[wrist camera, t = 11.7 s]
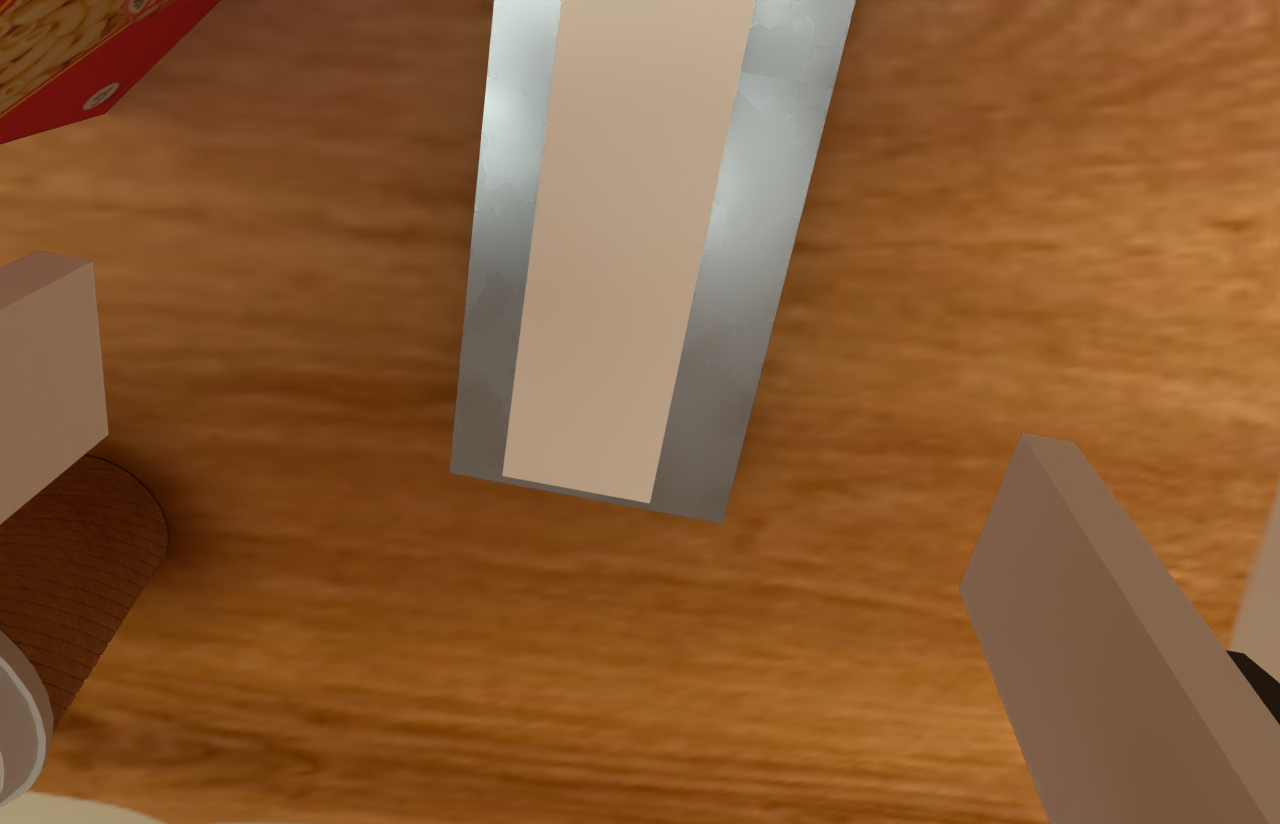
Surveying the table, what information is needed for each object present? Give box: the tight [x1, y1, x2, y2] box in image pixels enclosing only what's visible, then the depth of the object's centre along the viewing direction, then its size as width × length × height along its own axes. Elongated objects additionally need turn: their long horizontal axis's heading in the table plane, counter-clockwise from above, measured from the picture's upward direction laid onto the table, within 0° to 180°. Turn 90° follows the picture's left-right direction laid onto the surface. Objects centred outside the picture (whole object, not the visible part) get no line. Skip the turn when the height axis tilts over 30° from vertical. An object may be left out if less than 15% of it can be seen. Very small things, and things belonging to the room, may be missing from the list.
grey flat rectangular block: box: [449, 0, 856, 524], centre depth 30 cm, size 24×10×2 cm, turn 170°
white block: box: [502, 0, 756, 503], centre depth 27 cm, size 14×4×10 cm, turn 170°
